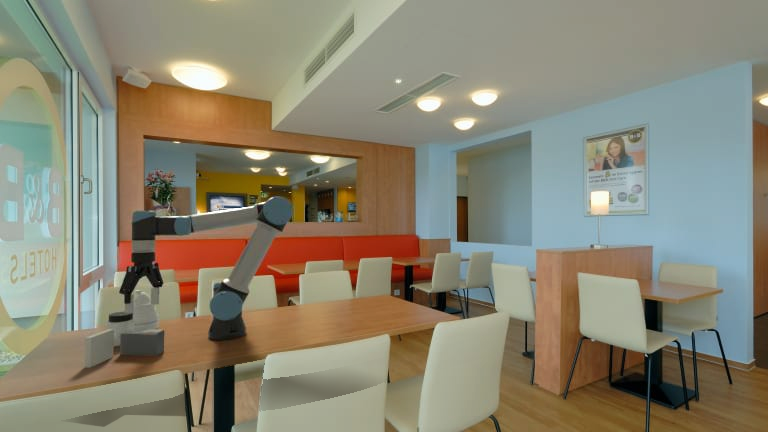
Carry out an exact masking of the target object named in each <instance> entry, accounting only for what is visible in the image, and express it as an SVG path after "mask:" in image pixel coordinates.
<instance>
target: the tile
mask: <svg viewBox="0 0 768 432" xmlns="http://www.w3.org/2000/svg"><path fill="white" fill-rule="evenodd" d="M84 341H85V342H84V343H85V344H84V368H93V367H95V366H96V365H97V366H98V365H99V364H101V363H105V361H108V360H110V359H112V358H114V349H115V347H114V329H108V330H107V329H106V330H103V331H100V332H97V333H95V334H91V335H89V336H87V337H85V339H84Z"/></svg>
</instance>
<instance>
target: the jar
mask: <svg viewBox="0 0 768 432" xmlns="http://www.w3.org/2000/svg"><path fill="white" fill-rule="evenodd" d="M108 329H114V348H115V347H120V335H121V333H123V332H126V331H128V330H133V331H134V318H133V313H125V310H124V311H117V312H112V313H110V314H109V315H108V321H107V323H106V330H108Z"/></svg>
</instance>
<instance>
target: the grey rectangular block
mask: <svg viewBox="0 0 768 432" xmlns="http://www.w3.org/2000/svg"><path fill="white" fill-rule="evenodd" d="M119 348H120V349H119V355H120V356H146V357H147V356H148V357H149V356H150V357H151V356H152V357H153V356H155V357H156V356H157V357H158V356H159V355H161V354H163V353H165V329H158V328H156V329H148V330H146V331H133V330H128V331H126V332H123V333H121V335H120V346H119Z"/></svg>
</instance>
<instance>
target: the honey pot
mask: <svg viewBox="0 0 768 432" xmlns="http://www.w3.org/2000/svg"><path fill="white" fill-rule="evenodd" d="M134 293H135V294H136V295H137V296H136V297H134V312H133V318H134V331H146V330H148V329H158V328H159V322H160V321H159V319H160V318H159V313H158V311H157V308H156V306H155V304H151V296H150V295H149V294H148V293H146V292H144V291H142V289H136V290H135V289H134Z"/></svg>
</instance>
